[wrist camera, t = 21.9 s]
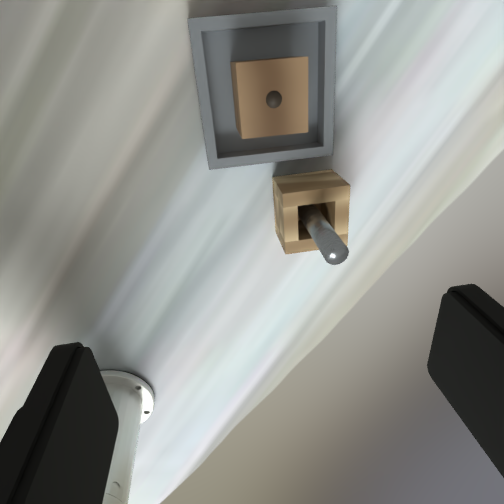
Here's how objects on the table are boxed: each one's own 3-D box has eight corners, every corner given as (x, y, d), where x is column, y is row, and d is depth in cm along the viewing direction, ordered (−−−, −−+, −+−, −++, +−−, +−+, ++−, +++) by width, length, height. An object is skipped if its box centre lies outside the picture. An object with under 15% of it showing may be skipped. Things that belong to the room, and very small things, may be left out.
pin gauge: (311, 194, 42) (349, 241, 31) (311, 211, 43) (348, 262, 32) (293, 196, 41) (324, 244, 31) (293, 214, 42) (324, 266, 32)
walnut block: (291, 56, 34) (308, 56, 29) (293, 121, 37) (308, 132, 32) (230, 61, 34) (235, 62, 29) (236, 127, 37) (242, 139, 32)
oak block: (330, 223, 45) (347, 245, 40) (275, 231, 44) (285, 254, 39) (331, 169, 41) (350, 185, 36) (272, 176, 41) (282, 194, 36)
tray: (324, 148, 40) (332, 155, 37) (208, 162, 39) (209, 169, 36) (326, 9, 34) (337, 5, 31) (188, 21, 33) (187, 18, 30)
